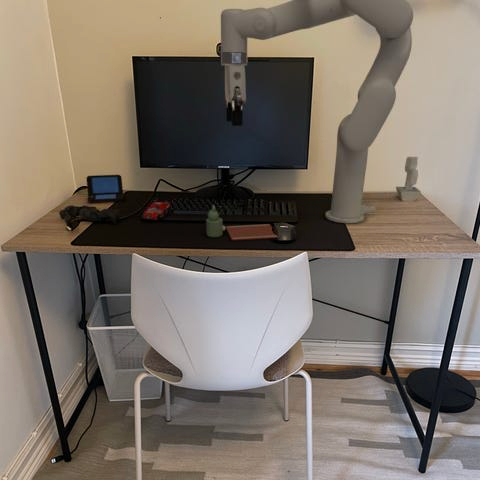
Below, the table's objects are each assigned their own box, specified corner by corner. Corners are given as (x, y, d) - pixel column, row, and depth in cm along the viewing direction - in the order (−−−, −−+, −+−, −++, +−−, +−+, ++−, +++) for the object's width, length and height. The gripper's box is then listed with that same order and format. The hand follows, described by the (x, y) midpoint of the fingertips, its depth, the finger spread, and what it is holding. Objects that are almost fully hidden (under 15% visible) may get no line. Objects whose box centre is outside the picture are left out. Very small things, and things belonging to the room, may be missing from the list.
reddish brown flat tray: (269, 224, 152) (269, 223, 152) (279, 237, 142) (279, 236, 142) (225, 227, 150) (225, 226, 150) (231, 240, 140) (231, 239, 140)
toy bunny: (224, 231, 147) (224, 202, 143) (226, 236, 143) (226, 207, 138) (205, 232, 146) (204, 203, 142) (207, 237, 142) (206, 208, 137)
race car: (155, 222, 154) (154, 210, 152) (140, 221, 155) (139, 208, 153) (174, 211, 164) (173, 199, 162) (159, 209, 166) (158, 197, 164)
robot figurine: (129, 215, 161) (73, 210, 165) (128, 202, 159) (72, 197, 162) (105, 233, 146) (45, 226, 149) (104, 219, 144) (42, 212, 147)
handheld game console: (87, 203, 171) (84, 182, 168) (89, 196, 181) (86, 175, 177) (124, 201, 174) (121, 180, 170) (123, 194, 183) (121, 174, 180)
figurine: (400, 202, 175) (407, 159, 168) (393, 195, 183) (399, 154, 176) (420, 202, 175) (428, 159, 168) (412, 195, 183) (419, 154, 176)
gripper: (253, 60, 133) (251, 127, 141) (241, 59, 148) (241, 119, 156) (226, 60, 132) (226, 127, 140) (217, 59, 147) (218, 120, 155)
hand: (234, 123), depth 148 cm, fingers open, 9 cm apart
